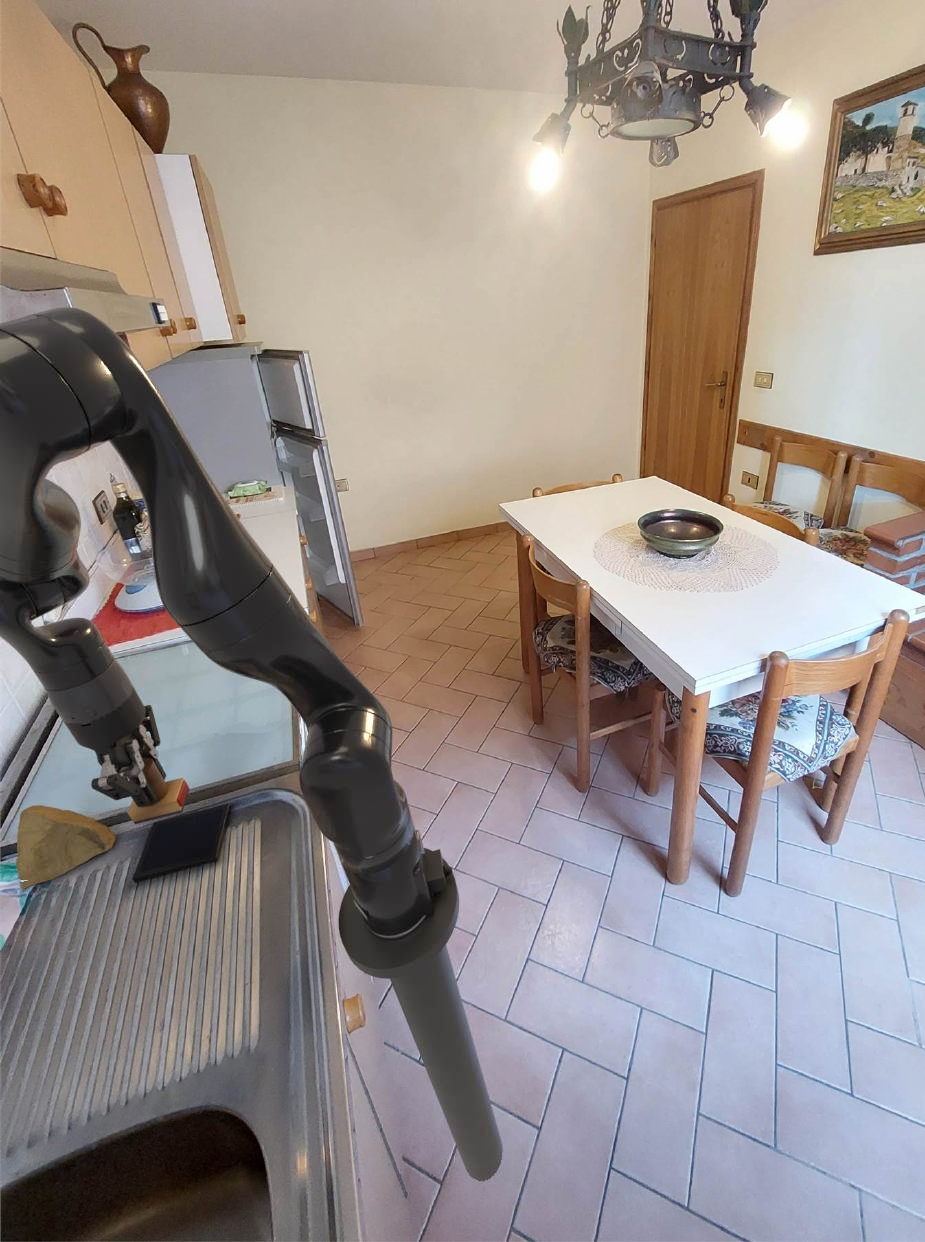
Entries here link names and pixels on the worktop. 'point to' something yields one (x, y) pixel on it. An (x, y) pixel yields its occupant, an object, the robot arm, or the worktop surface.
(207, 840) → the ink pad
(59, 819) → the rock
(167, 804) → the stamp
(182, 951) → the worktop surface
